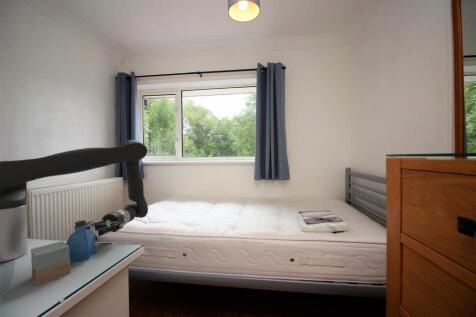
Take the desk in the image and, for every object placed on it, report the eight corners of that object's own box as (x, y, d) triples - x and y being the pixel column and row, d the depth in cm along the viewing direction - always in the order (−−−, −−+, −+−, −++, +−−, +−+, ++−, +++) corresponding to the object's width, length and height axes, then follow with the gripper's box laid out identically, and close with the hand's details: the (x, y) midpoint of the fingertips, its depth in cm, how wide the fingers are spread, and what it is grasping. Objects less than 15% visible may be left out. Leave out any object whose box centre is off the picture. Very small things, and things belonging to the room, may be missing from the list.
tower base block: (32, 277, 59) (31, 263, 59) (63, 266, 64) (63, 253, 64) (37, 285, 54) (37, 270, 54) (70, 273, 60) (70, 259, 60)
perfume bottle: (88, 259, 68) (87, 223, 68) (65, 263, 66) (64, 225, 66) (95, 251, 74) (94, 218, 74) (75, 254, 72) (74, 220, 72)
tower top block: (31, 263, 59) (31, 249, 59) (63, 253, 64) (62, 240, 64) (36, 270, 54) (35, 255, 54) (69, 260, 60) (69, 246, 60)
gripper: (100, 211, 89) (67, 222, 73) (132, 210, 89) (106, 222, 72) (100, 228, 89) (68, 244, 73) (132, 228, 89) (107, 243, 72)
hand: (87, 233), depth 73 cm, fingers open, 8 cm apart
